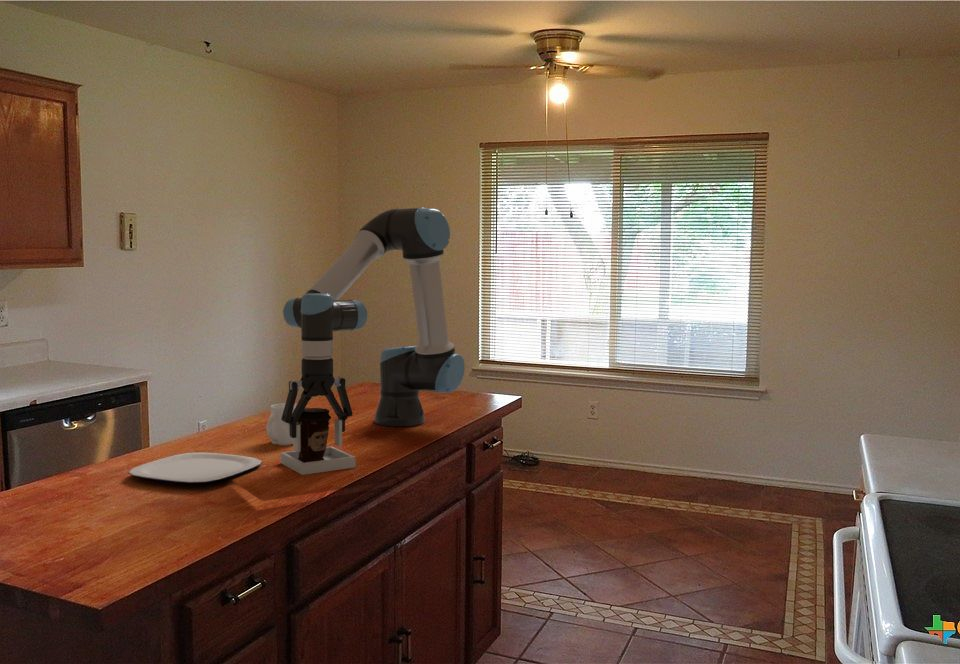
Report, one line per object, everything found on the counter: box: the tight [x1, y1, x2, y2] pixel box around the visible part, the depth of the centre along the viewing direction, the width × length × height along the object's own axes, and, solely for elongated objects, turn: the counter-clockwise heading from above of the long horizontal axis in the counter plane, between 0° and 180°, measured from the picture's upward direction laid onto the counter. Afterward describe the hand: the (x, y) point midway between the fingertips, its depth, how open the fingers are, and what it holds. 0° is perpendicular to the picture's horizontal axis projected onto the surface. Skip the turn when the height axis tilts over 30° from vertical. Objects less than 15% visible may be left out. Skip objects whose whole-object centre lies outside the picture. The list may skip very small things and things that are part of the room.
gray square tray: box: [280, 445, 356, 476], centre depth 201 cm, size 14×14×3 cm
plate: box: [128, 451, 263, 484], centre depth 194 cm, size 25×25×2 cm
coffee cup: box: [298, 407, 332, 463], centre depth 199 cm, size 9×8×13 cm
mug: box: [266, 402, 298, 446], centre depth 223 cm, size 12×8×10 cm
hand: (317, 448), depth 200 cm, fingers open, 10 cm apart
